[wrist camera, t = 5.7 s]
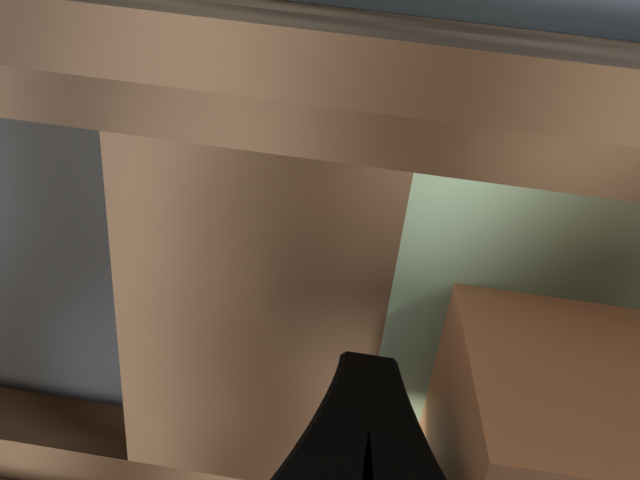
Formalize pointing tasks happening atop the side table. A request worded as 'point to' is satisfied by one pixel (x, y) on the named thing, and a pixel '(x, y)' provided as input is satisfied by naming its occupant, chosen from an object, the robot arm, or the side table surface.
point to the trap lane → (278, 213)
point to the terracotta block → (534, 389)
